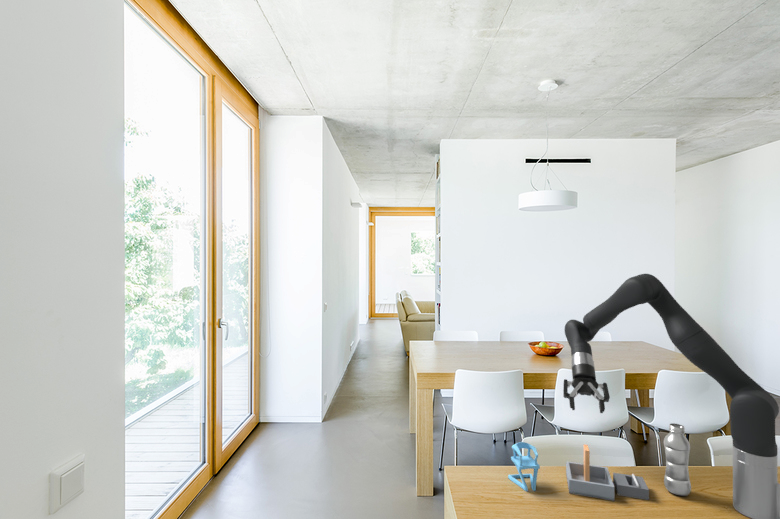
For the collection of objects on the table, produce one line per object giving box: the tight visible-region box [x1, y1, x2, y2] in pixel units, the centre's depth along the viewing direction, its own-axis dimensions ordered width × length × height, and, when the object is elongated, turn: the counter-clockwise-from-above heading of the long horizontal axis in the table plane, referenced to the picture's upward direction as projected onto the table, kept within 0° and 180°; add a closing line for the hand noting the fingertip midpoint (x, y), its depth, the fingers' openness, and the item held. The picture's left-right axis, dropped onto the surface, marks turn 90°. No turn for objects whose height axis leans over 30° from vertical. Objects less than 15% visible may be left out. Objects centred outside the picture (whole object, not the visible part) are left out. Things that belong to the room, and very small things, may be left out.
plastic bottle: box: [663, 422, 692, 497], centre depth 122 cm, size 6×7×20 cm
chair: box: [507, 441, 541, 492], centre depth 126 cm, size 8×8×12 cm
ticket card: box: [583, 444, 591, 482], centre depth 128 cm, size 1×4×10 cm, turn 161°
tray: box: [565, 460, 615, 502], centre depth 125 cm, size 12×12×4 cm
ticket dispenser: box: [612, 472, 650, 501], centre depth 123 cm, size 8×8×4 cm
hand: (587, 410), depth 136 cm, fingers open, 8 cm apart
